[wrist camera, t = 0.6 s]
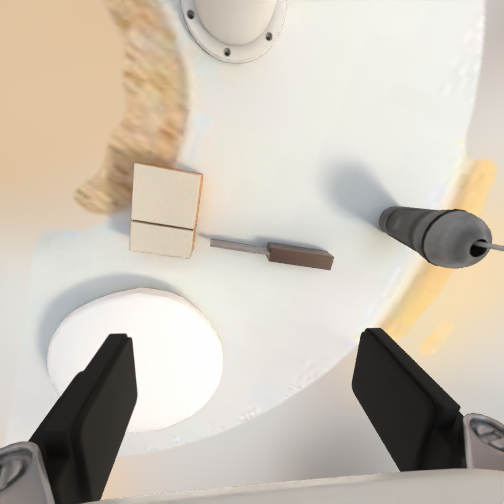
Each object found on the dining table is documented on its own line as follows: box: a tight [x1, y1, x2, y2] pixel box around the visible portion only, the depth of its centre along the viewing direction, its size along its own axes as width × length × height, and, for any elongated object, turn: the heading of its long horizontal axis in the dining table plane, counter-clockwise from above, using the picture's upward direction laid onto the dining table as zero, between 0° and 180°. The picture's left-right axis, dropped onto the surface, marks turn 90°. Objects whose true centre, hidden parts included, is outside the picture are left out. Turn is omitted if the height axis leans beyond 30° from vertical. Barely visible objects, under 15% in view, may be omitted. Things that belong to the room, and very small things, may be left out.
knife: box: [210, 239, 334, 270], centre depth 41 cm, size 2×19×3 cm, turn 79°
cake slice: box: [129, 220, 197, 259], centre depth 38 cm, size 4×8×5 cm, turn 79°
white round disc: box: [47, 287, 223, 432], centre depth 43 cm, size 28×6×27 cm
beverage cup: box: [379, 206, 504, 268], centre depth 34 cm, size 7×7×20 cm
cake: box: [131, 163, 203, 229], centre depth 36 cm, size 7×8×5 cm
